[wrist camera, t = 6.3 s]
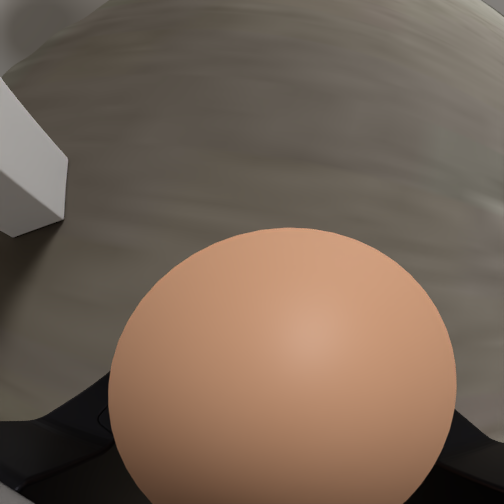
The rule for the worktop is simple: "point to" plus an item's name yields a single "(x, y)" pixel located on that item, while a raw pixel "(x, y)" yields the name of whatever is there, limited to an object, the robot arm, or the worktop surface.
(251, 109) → the worktop surface
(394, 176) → the worktop surface
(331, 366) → the peach rounded cylinder
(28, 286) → the worktop surface
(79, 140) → the worktop surface
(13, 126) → the milk carton
